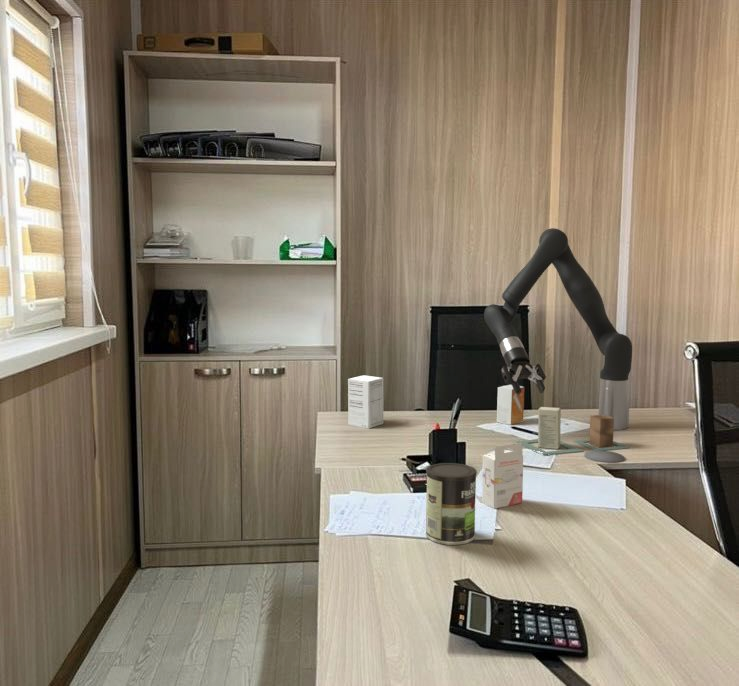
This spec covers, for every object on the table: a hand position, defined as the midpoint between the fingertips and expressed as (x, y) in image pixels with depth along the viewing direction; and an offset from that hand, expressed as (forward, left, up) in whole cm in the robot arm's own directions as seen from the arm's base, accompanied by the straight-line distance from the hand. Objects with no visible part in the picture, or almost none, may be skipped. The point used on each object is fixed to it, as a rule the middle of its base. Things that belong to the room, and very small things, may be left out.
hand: (531, 392), depth 218 cm
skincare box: (0, +11, -15) cm, 19 cm away
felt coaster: (-9, +26, -15) cm, 31 cm away
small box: (-6, -23, -16) cm, 28 cm away
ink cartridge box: (+39, +51, -16) cm, 66 cm away
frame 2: (-17, +14, -15) cm, 27 cm away
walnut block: (-17, +14, -15) cm, 27 cm away
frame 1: (0, +11, -15) cm, 19 cm away
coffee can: (+59, +65, -16) cm, 89 cm away
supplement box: (+45, -35, -16) cm, 59 cm away
